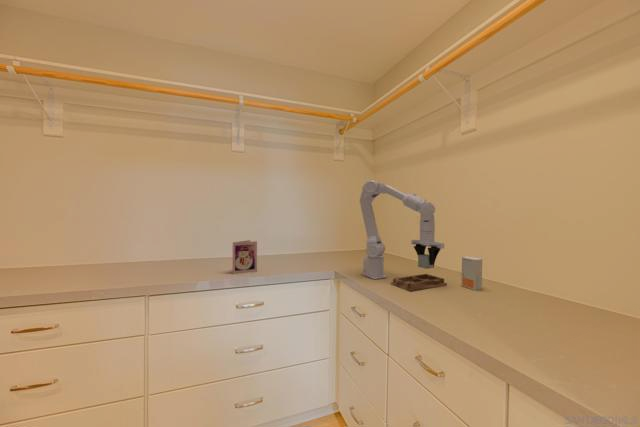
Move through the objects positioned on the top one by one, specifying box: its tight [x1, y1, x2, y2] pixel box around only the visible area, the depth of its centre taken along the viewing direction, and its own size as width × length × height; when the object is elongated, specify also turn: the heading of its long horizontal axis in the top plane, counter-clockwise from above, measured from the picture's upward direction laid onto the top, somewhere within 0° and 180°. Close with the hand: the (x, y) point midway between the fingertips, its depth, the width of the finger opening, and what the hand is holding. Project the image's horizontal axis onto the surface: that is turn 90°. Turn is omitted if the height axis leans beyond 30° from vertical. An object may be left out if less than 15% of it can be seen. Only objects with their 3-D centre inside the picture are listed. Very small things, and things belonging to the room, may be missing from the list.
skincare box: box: [460, 255, 483, 291], centre depth 104 cm, size 6×4×12 cm
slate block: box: [417, 253, 435, 270], centre depth 109 cm, size 4×4×5 cm
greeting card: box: [232, 239, 258, 275], centre depth 128 cm, size 11×7×15 cm, turn 116°
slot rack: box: [390, 273, 448, 293], centre depth 107 cm, size 11×20×3 cm, turn 116°
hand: (426, 263), depth 109 cm, fingers closed on slate block, 4 cm apart
